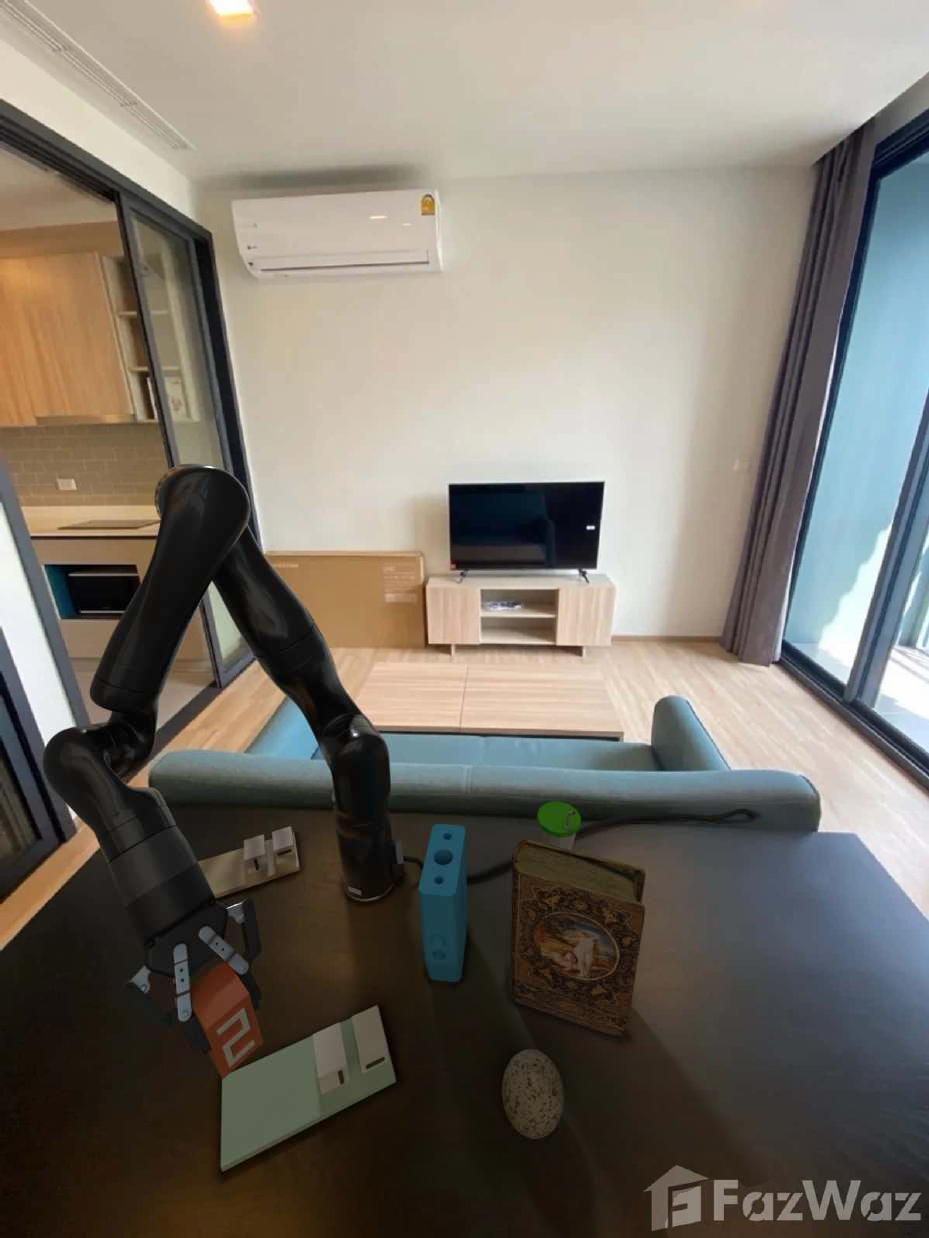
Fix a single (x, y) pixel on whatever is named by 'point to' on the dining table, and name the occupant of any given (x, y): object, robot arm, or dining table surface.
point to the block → (444, 902)
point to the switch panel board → (302, 1085)
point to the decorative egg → (532, 1094)
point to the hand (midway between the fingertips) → (232, 1028)
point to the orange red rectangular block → (225, 1017)
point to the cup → (558, 824)
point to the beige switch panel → (252, 863)
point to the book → (575, 934)
